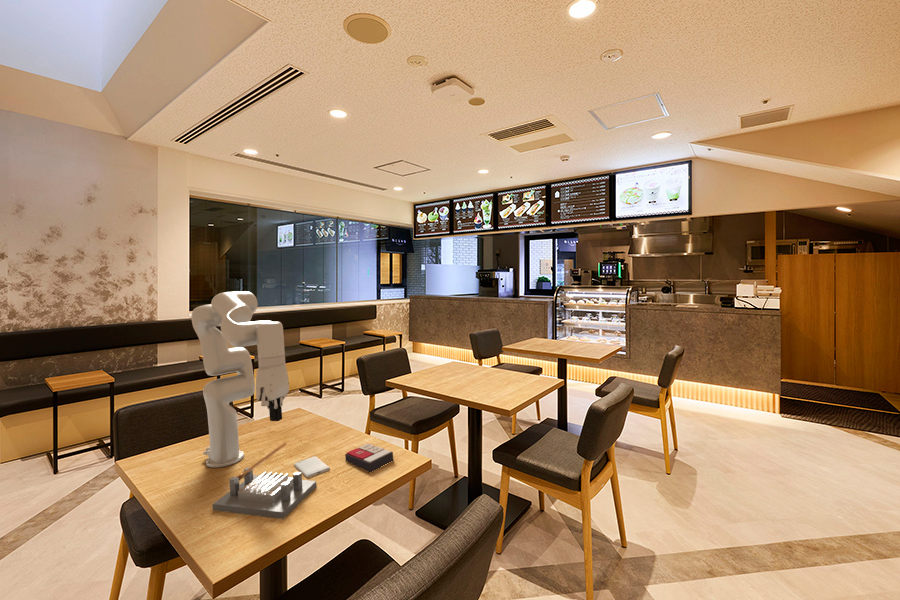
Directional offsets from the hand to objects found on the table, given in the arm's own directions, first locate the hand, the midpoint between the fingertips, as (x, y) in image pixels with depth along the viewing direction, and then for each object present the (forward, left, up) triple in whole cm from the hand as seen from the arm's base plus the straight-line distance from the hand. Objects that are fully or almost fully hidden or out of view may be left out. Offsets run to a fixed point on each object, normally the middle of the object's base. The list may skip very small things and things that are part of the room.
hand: (276, 420), depth 119 cm
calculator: (+18, +27, -25) cm, 41 cm away
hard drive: (-1, +19, -26) cm, 32 cm away
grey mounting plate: (-4, -1, -25) cm, 25 cm away
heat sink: (-4, -1, -23) cm, 23 cm away
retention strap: (-5, -1, -14) cm, 15 cm away
